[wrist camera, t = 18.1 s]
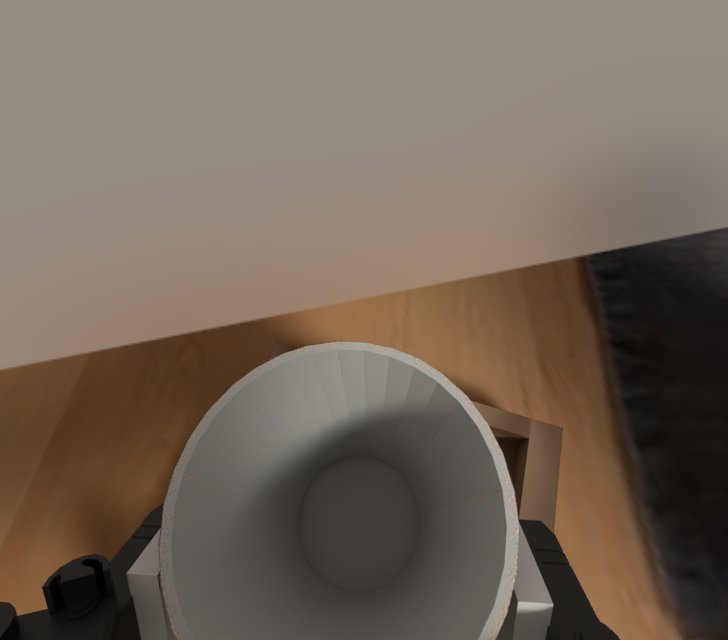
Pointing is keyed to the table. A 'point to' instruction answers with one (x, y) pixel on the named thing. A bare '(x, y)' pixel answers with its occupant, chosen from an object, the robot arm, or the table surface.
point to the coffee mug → (340, 507)
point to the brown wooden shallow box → (519, 456)
